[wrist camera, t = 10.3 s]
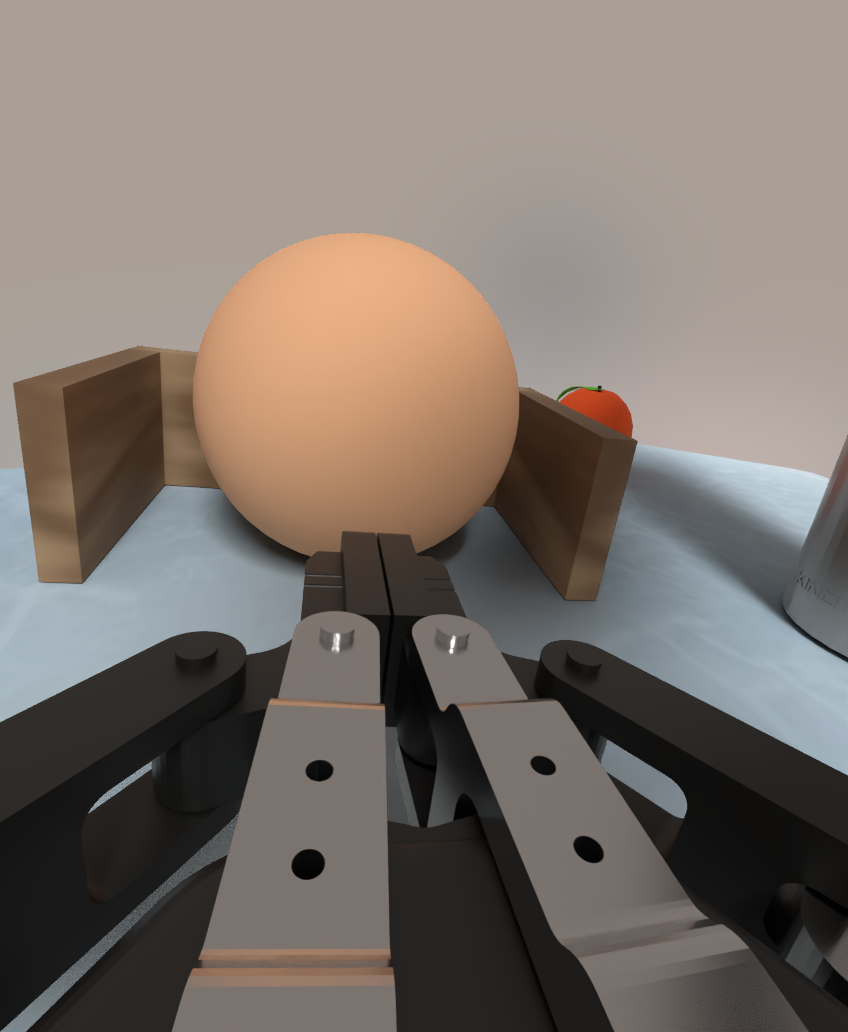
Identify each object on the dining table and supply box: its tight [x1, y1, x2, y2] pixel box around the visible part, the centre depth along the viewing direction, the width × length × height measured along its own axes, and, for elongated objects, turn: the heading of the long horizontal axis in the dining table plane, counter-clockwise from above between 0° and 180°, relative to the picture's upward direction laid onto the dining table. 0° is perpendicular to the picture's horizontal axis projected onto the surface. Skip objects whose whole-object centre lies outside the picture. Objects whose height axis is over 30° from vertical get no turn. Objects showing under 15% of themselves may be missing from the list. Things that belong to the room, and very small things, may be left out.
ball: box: [193, 233, 519, 556], centre depth 25 cm, size 14×14×14 cm
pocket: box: [13, 346, 637, 601], centre depth 29 cm, size 23×14×8 cm, turn 99°
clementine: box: [556, 386, 633, 438], centre depth 49 cm, size 8×7×7 cm
